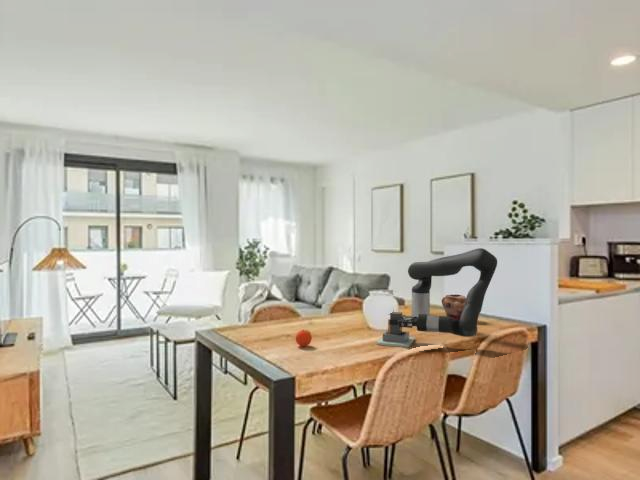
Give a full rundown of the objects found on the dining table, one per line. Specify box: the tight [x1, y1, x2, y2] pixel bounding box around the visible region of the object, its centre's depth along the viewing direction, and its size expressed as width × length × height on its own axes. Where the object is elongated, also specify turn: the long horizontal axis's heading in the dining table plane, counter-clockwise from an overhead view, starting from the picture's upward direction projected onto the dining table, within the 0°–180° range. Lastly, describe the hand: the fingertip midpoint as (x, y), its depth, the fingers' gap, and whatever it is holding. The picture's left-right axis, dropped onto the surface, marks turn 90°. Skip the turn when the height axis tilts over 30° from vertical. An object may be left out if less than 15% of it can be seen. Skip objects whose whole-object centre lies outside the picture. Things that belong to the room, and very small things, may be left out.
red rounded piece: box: [295, 329, 312, 347], centre depth 196 cm, size 8×7×7 cm
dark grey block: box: [387, 311, 403, 335], centre depth 204 cm, size 4×6×12 cm
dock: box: [375, 329, 416, 348], centre depth 204 cm, size 16×14×4 cm
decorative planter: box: [441, 294, 467, 320], centre depth 257 cm, size 20×12×14 cm, turn 32°
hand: (391, 320), depth 205 cm, fingers open, 7 cm apart
